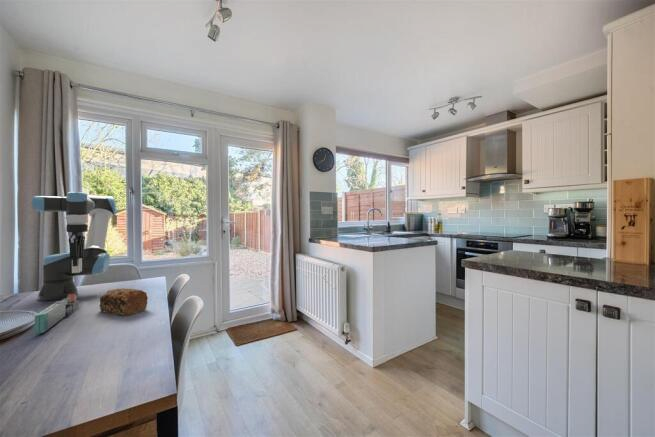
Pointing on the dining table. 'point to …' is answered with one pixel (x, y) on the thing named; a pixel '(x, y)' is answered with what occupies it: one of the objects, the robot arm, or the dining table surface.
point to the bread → (123, 301)
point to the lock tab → (72, 297)
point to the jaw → (54, 314)
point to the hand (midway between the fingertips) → (76, 272)
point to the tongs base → (69, 310)
